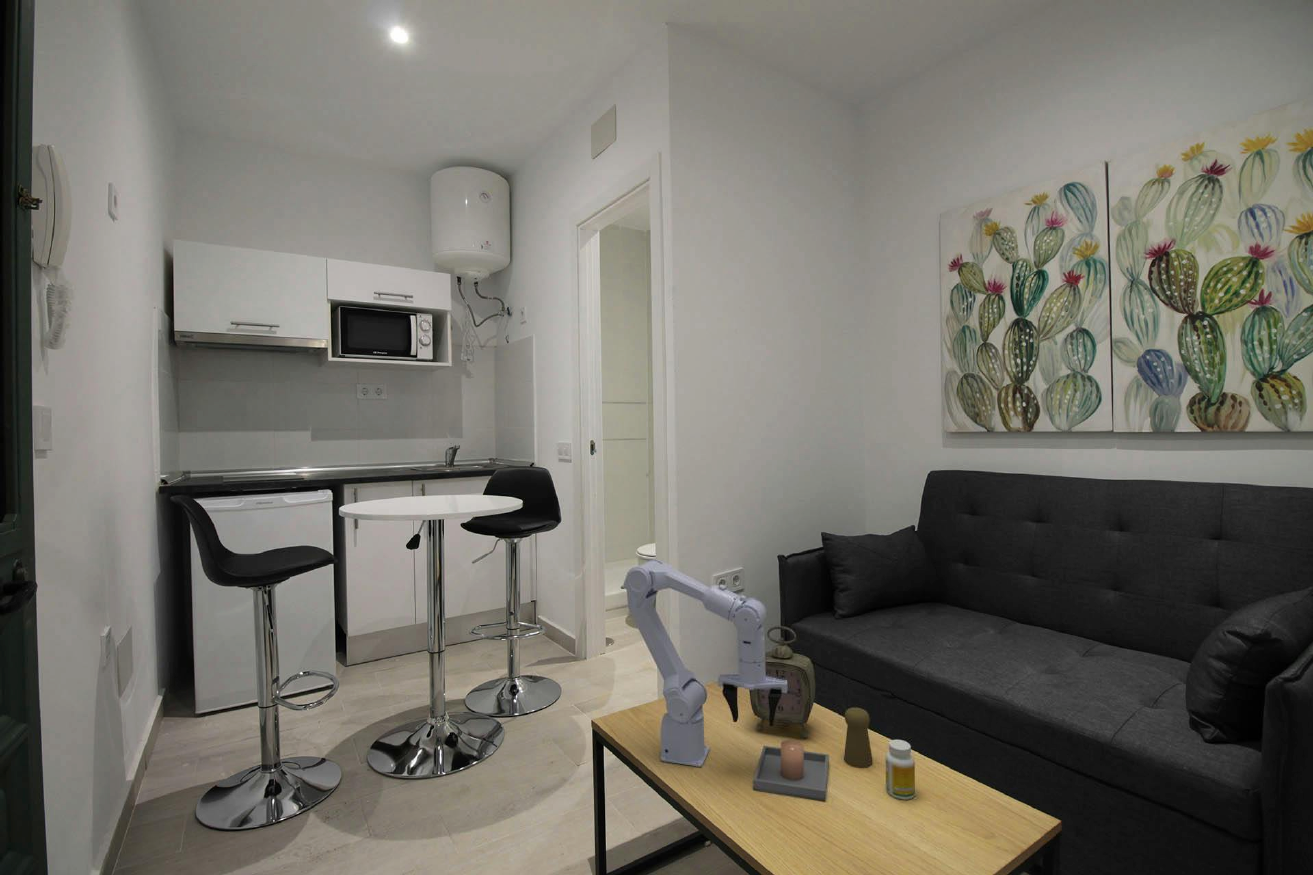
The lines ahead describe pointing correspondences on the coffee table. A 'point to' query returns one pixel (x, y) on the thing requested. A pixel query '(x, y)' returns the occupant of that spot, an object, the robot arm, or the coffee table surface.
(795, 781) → the tray
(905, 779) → the supplement bottle
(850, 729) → the brown pawn figure
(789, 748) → the brown clay cylinder
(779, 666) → the tabletop clock
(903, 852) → the coffee table surface
